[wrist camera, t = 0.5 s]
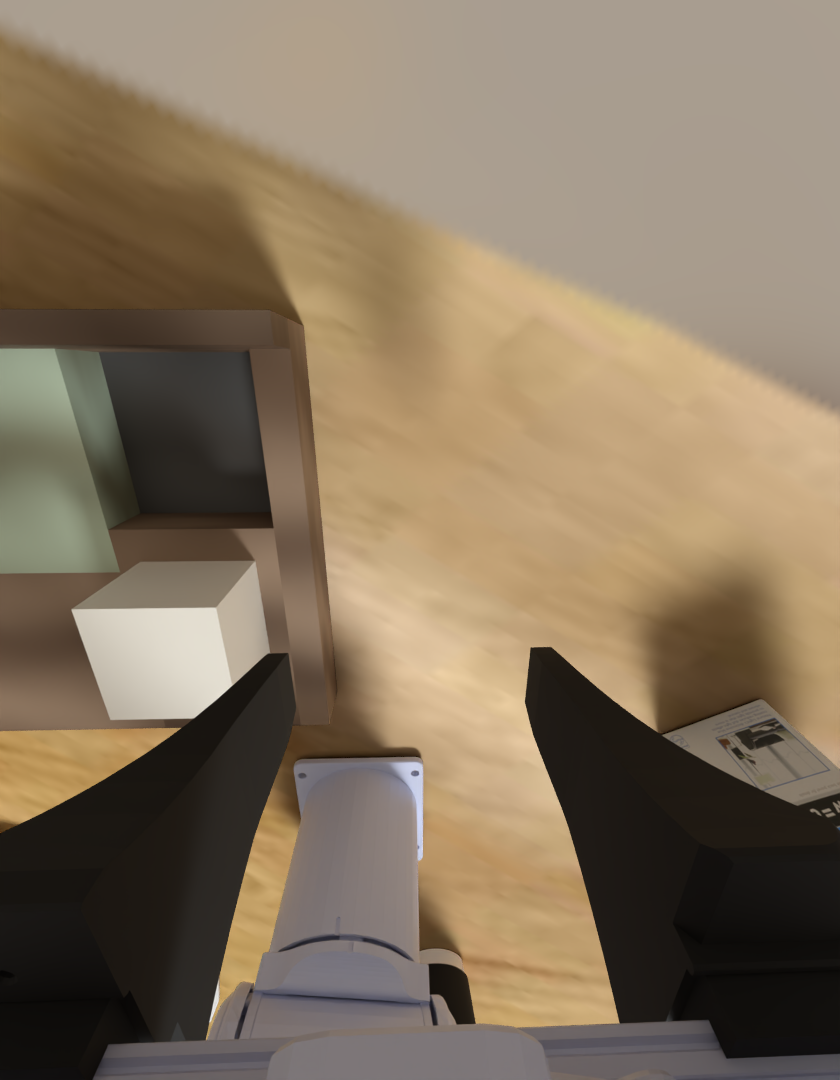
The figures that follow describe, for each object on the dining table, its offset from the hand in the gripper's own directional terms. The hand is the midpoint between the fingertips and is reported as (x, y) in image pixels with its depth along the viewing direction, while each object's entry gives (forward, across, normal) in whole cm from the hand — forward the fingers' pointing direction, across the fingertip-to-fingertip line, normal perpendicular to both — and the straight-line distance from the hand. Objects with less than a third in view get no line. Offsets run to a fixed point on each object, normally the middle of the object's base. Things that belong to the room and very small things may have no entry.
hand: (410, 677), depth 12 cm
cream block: (+7, +9, +2) cm, 12 cm away
